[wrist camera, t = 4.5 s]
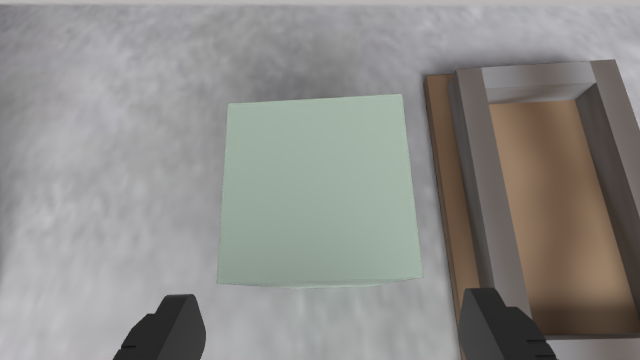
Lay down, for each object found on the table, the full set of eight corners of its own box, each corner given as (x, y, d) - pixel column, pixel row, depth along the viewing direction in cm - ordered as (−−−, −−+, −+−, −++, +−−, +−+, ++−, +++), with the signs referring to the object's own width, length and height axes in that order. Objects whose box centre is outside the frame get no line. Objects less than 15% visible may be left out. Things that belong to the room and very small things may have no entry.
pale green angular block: (296, 288, 21) (216, 283, 8) (296, 215, 22) (227, 103, 9) (371, 286, 21) (422, 277, 7) (365, 212, 22) (402, 93, 9)
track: (465, 384, 19) (487, 400, 16) (423, 83, 25) (434, 56, 22) (696, 380, 18) (762, 397, 15) (596, 73, 24) (631, 44, 21)
